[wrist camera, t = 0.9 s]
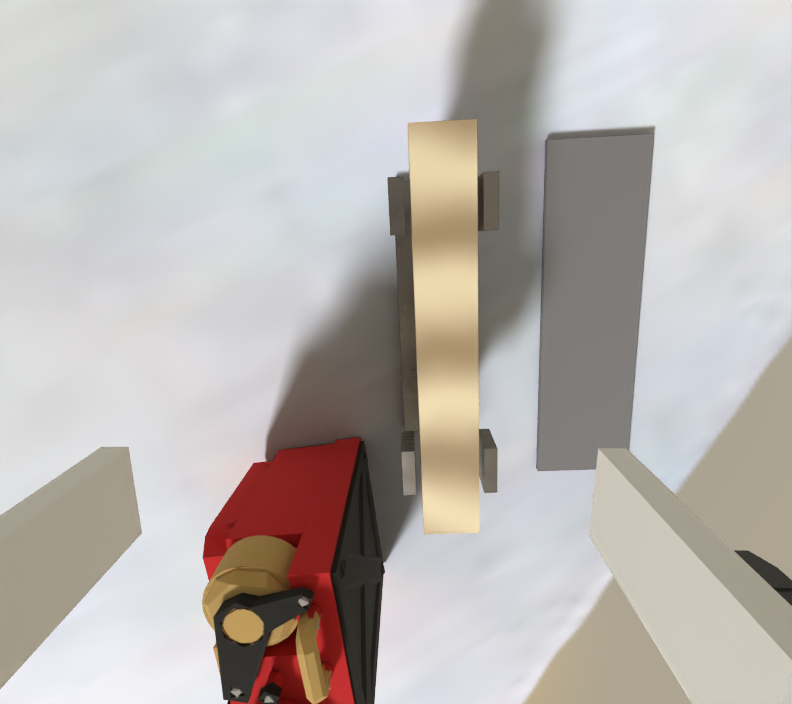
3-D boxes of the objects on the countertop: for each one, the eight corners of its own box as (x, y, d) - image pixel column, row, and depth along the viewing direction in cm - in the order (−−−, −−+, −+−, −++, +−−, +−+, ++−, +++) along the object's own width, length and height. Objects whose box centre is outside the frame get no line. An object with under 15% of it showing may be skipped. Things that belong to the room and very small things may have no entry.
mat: (545, 141, 36) (547, 139, 36) (650, 135, 36) (654, 133, 35) (536, 467, 43) (538, 471, 42) (624, 465, 43) (627, 468, 42)
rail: (408, 136, 27) (407, 122, 24) (468, 133, 27) (476, 119, 24) (422, 503, 33) (424, 534, 29) (471, 501, 33) (479, 532, 29)
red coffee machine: (257, 442, 43) (135, 613, 24) (366, 431, 42) (331, 595, 23) (288, 585, 47) (204, 833, 27) (388, 576, 46) (374, 823, 27)
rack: (393, 183, 37) (385, 157, 25) (468, 179, 37) (499, 150, 24) (404, 427, 42) (403, 509, 30) (470, 424, 42) (497, 506, 29)
